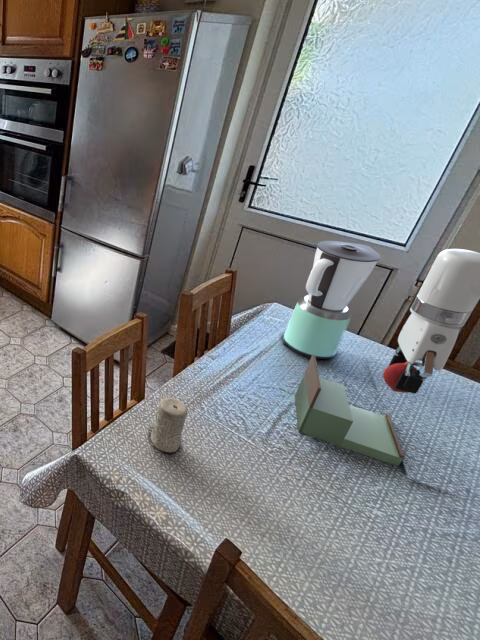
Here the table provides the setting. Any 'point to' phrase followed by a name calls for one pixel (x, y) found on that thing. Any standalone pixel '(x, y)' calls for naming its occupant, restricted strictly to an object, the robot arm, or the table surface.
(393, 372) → the onion
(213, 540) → the table surface
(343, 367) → the table surface
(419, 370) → the robot arm
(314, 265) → the juicer
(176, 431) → the carving
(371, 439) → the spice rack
